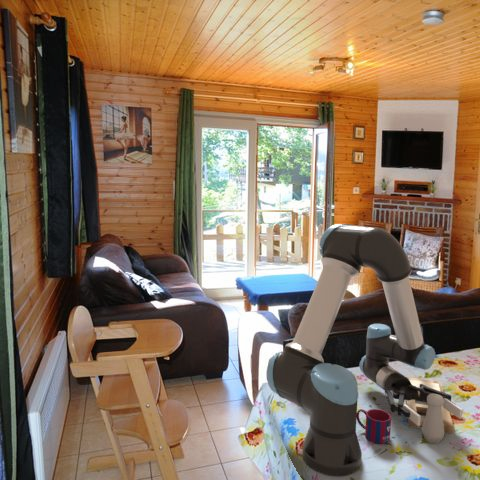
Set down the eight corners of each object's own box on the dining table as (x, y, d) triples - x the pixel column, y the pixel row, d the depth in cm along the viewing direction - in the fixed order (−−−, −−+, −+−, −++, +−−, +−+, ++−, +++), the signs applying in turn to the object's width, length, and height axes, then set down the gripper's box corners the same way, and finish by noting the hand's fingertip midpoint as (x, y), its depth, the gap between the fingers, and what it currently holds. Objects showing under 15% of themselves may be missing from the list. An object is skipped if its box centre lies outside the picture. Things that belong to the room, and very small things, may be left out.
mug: (380, 447, 121) (382, 424, 120) (350, 431, 128) (351, 409, 127) (394, 438, 125) (396, 416, 124) (364, 423, 132) (366, 401, 131)
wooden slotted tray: (408, 426, 131) (408, 418, 131) (403, 382, 159) (404, 376, 159) (453, 433, 127) (453, 426, 127) (440, 387, 156) (440, 380, 155)
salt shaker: (416, 435, 126) (419, 392, 125) (433, 432, 128) (436, 389, 126) (431, 447, 121) (434, 402, 119) (448, 443, 123) (451, 399, 121)
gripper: (426, 389, 146) (476, 423, 125) (358, 399, 139) (400, 437, 119) (427, 367, 144) (479, 398, 124) (359, 376, 138) (401, 410, 118)
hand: (440, 417), depth 121 cm, fingers open, 13 cm apart
